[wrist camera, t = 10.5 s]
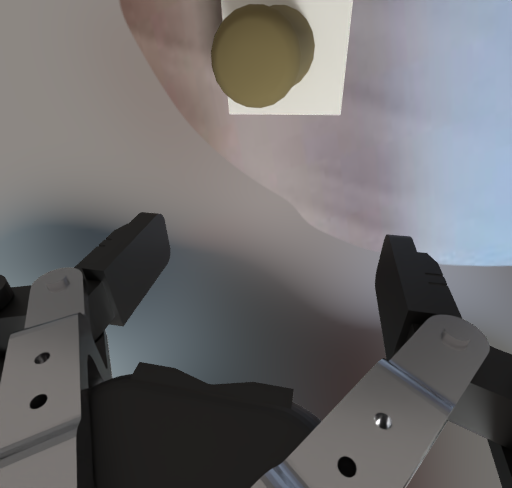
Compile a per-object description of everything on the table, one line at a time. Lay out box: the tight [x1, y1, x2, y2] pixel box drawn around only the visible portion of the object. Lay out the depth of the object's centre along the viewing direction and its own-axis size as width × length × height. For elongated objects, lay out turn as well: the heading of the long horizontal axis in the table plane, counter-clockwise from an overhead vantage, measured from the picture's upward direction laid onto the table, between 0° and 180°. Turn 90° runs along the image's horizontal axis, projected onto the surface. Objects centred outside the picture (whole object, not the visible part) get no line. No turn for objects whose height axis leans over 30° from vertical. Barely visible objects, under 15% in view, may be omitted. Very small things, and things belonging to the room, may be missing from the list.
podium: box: [221, 0, 353, 115], centre depth 28 cm, size 10×10×5 cm
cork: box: [211, 4, 315, 108], centre depth 22 cm, size 6×6×11 cm
